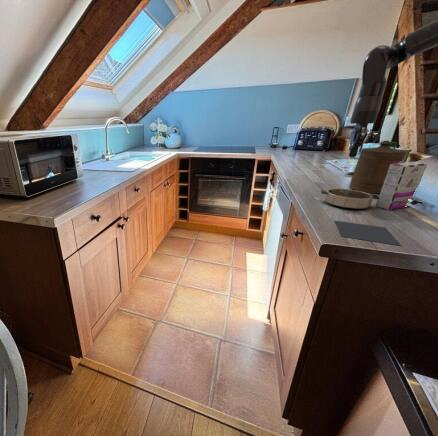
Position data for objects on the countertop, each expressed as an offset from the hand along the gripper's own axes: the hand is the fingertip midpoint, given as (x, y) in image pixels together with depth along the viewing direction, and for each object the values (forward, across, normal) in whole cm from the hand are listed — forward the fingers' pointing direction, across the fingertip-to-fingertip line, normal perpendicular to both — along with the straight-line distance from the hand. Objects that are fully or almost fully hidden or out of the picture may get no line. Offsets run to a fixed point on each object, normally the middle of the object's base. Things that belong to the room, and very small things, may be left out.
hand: (352, 156), depth 98 cm
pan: (+17, -11, 0) cm, 20 cm away
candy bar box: (+17, -7, -15) cm, 24 cm away
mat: (+17, -38, 0) cm, 42 cm away
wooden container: (+17, +19, -14) cm, 29 cm away
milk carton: (+17, +37, -19) cm, 45 cm away
